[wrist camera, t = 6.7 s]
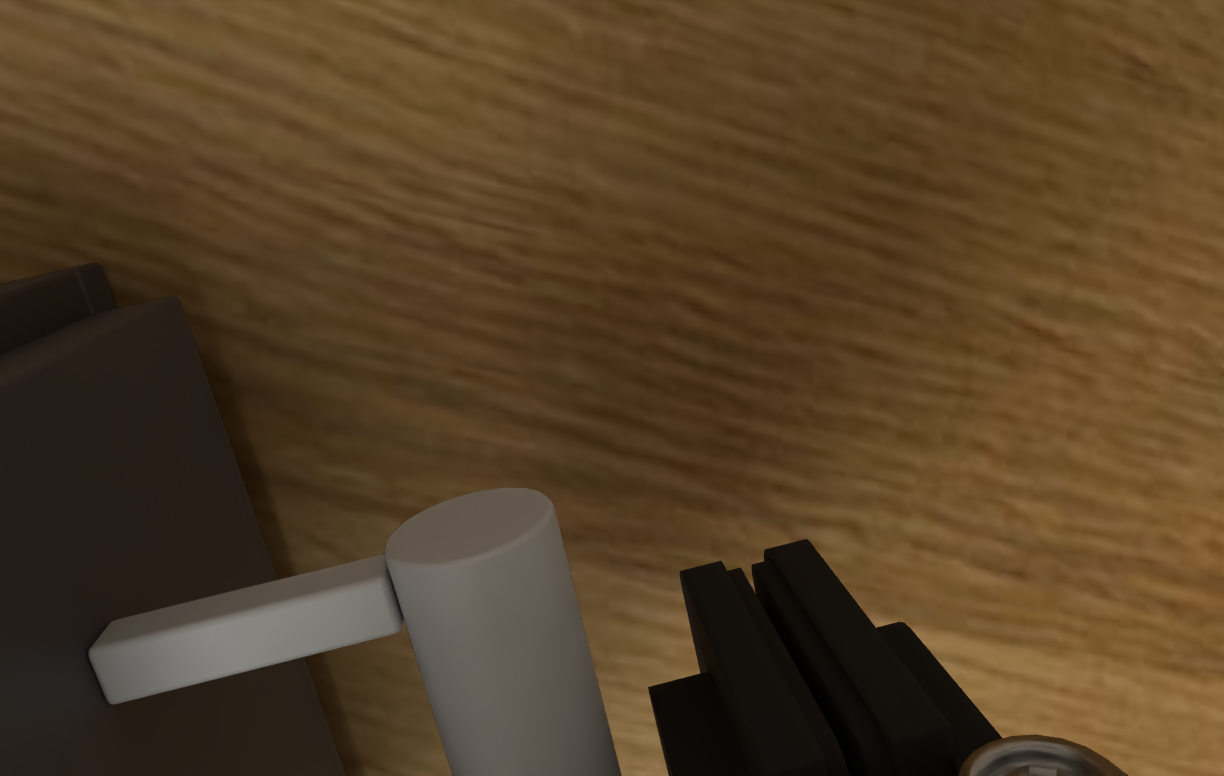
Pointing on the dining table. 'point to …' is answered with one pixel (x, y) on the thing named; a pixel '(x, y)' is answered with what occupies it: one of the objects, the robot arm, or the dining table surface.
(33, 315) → the dark grey drawer box
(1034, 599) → the dining table surface
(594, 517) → the dining table surface
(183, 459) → the drawer front with handle
